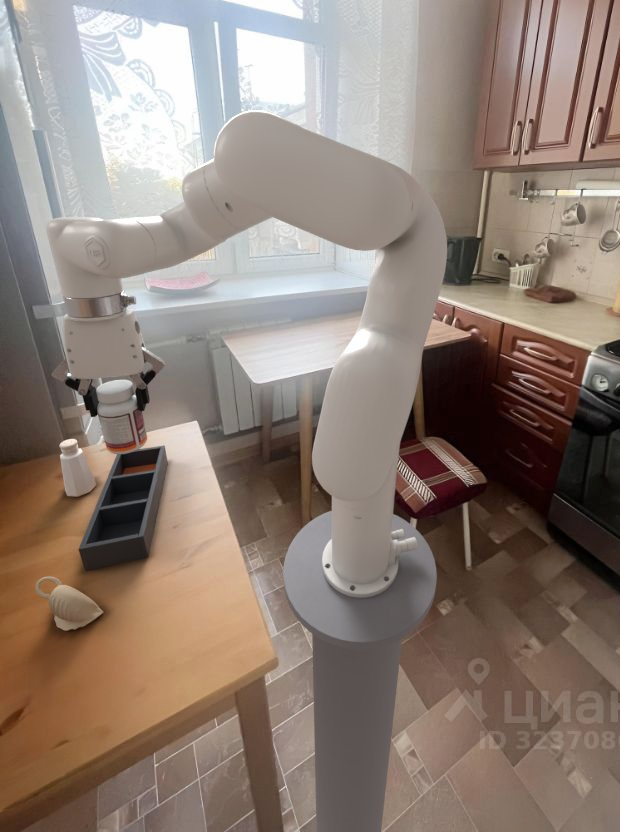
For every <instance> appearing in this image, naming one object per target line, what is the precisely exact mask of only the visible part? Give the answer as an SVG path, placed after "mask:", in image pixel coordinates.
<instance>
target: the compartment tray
mask: <svg viewBox="0 0 620 832" xmlns="http://www.w3.org/2000/svg"><path fill="white" fill-rule="evenodd" d="M168 463H169V461H168V457H167V451H166V446H165V445H158V446H150V447H144V448H143V447H142V448H139V449H138V450H136V451H133V452H130V453H126V454H116V456H115V459H114V461H113V463H112V466H111V467H110V471H109V473H108V475H107V478H106V480H105V483H104V485H103V487H102V489H101V493H100V495H99V497H98V500H97V503H96V504H95V508H94V510H93V512H92V515H91V518H90V519H89V522H88V525H87V527H86V529H85V532H84V535H83V537H82V539H81V542H80V544H79V547H78V549H77V550H78V553H79V556H80V559H81V562H82V565H83V568H84V571H89V570H94V569H100V568H104V567H108V566H112V565H117V564H122V563H127V562H132V561H136V560H140V559H146V558H149V555H150V551H151V546H152V540H153V536H154V532H155V527H156V521H157V516H158V511H159V507H160V502H161V498H162V493H163V487H164V484H165V478H166V473H167V468H168Z"/></svg>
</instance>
